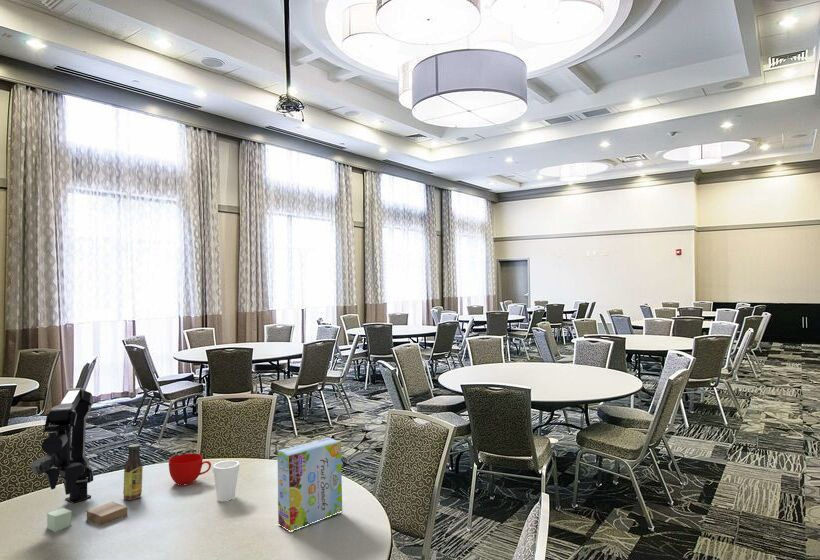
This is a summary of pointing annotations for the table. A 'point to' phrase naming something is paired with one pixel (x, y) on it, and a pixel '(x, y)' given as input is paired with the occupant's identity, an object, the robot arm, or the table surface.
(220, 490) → the foam cup
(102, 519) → the walnut block
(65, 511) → the sage cube
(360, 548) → the table surface
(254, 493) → the table surface
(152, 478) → the table surface
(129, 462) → the sauce bottle
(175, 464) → the ceramic cup
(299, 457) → the snack box
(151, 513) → the table surface
